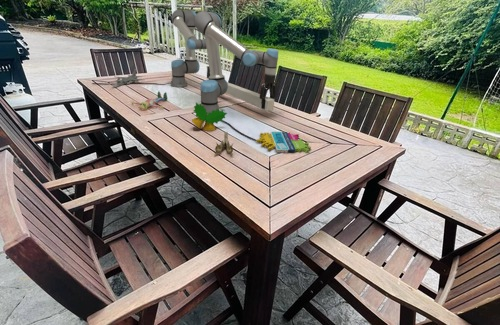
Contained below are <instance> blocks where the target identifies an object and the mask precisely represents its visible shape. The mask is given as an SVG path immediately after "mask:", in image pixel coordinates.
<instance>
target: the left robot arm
mask: <svg viewBox="0 0 500 325" xmlns="http://www.w3.org/2000/svg"><path fill="white" fill-rule="evenodd" d="M196 14H197V13H196V12H195V10H191V9H175V10H174V11H173V12H172V13H171V22H172V24H173V26H174V27H175V28H177V29H178V31H179V33H180V34H181V35H182V36H183V38H184V43H185V57H184V59H174V60H171V63H170V64H171V66H170V67H171V81H170V82H168V83H156V82H136V83H135V82H132V83H130V84H129V85H159V86H165V85H170V86H171V87H173V88H184V87H187V86H188V82H187V79H186V76H185V75H189V74H197V73H199V71H200V66H201V65H200V61H198V59H197V57H196V50H207V47H206V40H205V38H202V39H201V38H199V39H197V38H196V36H195V29H196V27H195V25H194V17H195V15H196ZM209 76H210V70H209V65H208V66H206V79H207V80H209ZM116 83H117V82H116ZM116 83H112V85H114V84H116ZM91 84H92V85H108V82H107V83H106V82H105V83H103V82H102V83H101V82H92V83H91Z"/></svg>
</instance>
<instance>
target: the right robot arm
mask: <svg viewBox="0 0 500 325" xmlns="http://www.w3.org/2000/svg"><path fill="white" fill-rule="evenodd" d="M194 25H195V27H196V28H195V29H196V30H197V31H198V32H199V33H201V34H202V37H203V38H204V39H205V40H206V47H207V49H206V54H207V62H208V66H209V70H210V76H209V79H204V80H202V81H201V82H200V87H199V89H200V104H201V106H204V109H206V112H208V113H211V112H212V110H214V111H216V110H217V109H219V111H221V110H220V108H219V102H218V99H219V97H221V96H223V95H225V94H226V93H225V92H226V91H227V89H228V83H229V82H228V81H227V80H226V76H225V75H224V73H223V69H222V62H221V61H222V60H221V52H220V46H221V47H222V48H224V49H226V50H227V51H228V52H229V53H231V54H233V55H234V56H235V57H237V58H238V59H239V60H241V61H242V63H243V65H244V66H246V67H254V65H257V64H263V65H265V68H264V75H263V76H264V77H263V80H264V82H263V83H260V91H259V94H260V99H262V101H261V104H262V106H261V108H260V109H262V110H264V109H265V102H266V100H265V97H267V94H268V91H269V98H272V99H274V100H275V98H276V97H277V86H278V83H277V82H276V75H277V70H278V69H277V68H278V60H279V50H278V49H276V48H267V49H266V51H262V50H257V49H249V48H248V47H247V46H245V45H243V44H242V43H241V42H239V41H238V40H236V39H235V38H234V37H232V36H231V35H229V34H228V33H227V32H226V31H224V30H223V29H221V27H222V19H221V18H220V16H219V15H218V14H217V13H216V12H213V11H204V10H203V11H202V10H201V11H198V12H197V13H196V15H195V17H194ZM227 82H228V83H227ZM263 97H264V98H263ZM208 113H207V115H208ZM222 123H225V124H227V125H228V126H229V127H230V128H231V129H233V130H234V131H235V132H237V133H238V134H240V135H242V136H243V137H246V138H248V139H250V140H252V141H254V142H256V141H257V139H256V138H254V137H252V136H249V135H246V134H245V133H243V132H241V131H239V130H238V129H237V128H235V127H234V126H233V125H231V123H229V122H227V121H225V120H223V119H222ZM262 143H263V142H260V143H259V144H262ZM270 146H272V145H270Z"/></svg>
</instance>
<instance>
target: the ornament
mask: <svg viewBox="0 0 500 325" xmlns="http://www.w3.org/2000/svg"><path fill="white" fill-rule="evenodd" d="M219 110H220V108H219V109H217V110H216V111H214V110H212V112H211V113H208V112H206V109H204V106H201V103H198V102H195V105H194V106H193V112H194V113H195V118H192V119H191V122H192V123H193V125H195V127H197V128H198V129H202V130H203V131H206V132H212V131H213V132H214V131H215V130H216V126H215V124H218V123H219V122H222V120H223V119H226V115H227V114H228V113H227V112H224V110H223V109H221V110H220V111H219ZM207 113H208V115H207ZM214 123H215V124H214ZM222 123H223V122H222Z"/></svg>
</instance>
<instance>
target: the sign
mask: <svg viewBox="0 0 500 325" xmlns="http://www.w3.org/2000/svg"><path fill="white" fill-rule="evenodd" d="M299 136H300V135H299V134H298V133H296V134H294V133H291V132H287V131H270V132H264V133H263V132H260V133H259V139H258V138H257V139H256V140H257V141H255V142H256V143H257V144H261V148H263V147H264V148H265V149H267V151H268V152H271V151H272V150H273V149H275V152H276V153H283V154H285V153H287V154H288V153H290V154H293V153H296V152H298V153H301V152H305V153H310V151H311V150H312V149H311V148H312V146H309V142H304V141H303V139H302V138H299ZM260 142H263V143H260ZM270 145H272V146H270Z"/></svg>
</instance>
